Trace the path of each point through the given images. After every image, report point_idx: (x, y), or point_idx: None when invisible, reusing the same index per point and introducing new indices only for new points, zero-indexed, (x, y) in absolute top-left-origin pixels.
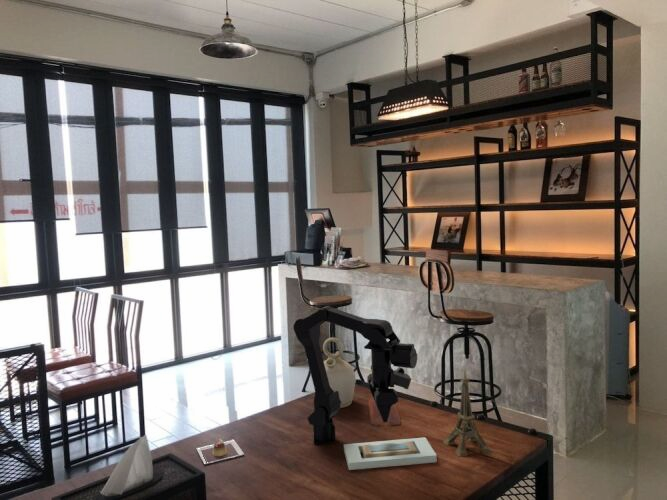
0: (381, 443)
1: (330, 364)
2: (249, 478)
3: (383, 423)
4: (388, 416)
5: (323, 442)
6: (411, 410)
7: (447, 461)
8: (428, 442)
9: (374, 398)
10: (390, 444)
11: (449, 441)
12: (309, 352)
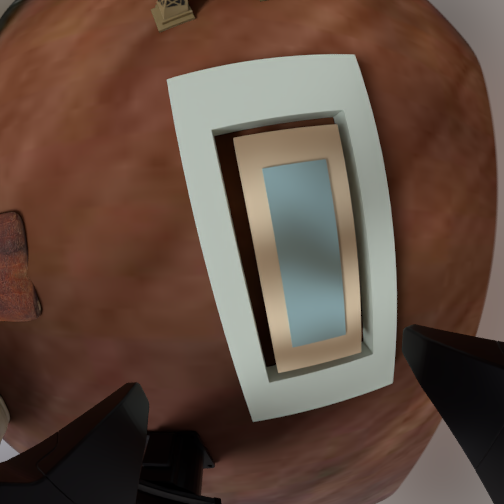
0: (241, 294)
1: None
2: (362, 491)
3: (21, 278)
4: (457, 334)
5: (207, 453)
6: None
7: (333, 32)
8: (226, 65)
9: (132, 501)
10: (281, 252)
11: (186, 4)
12: None
